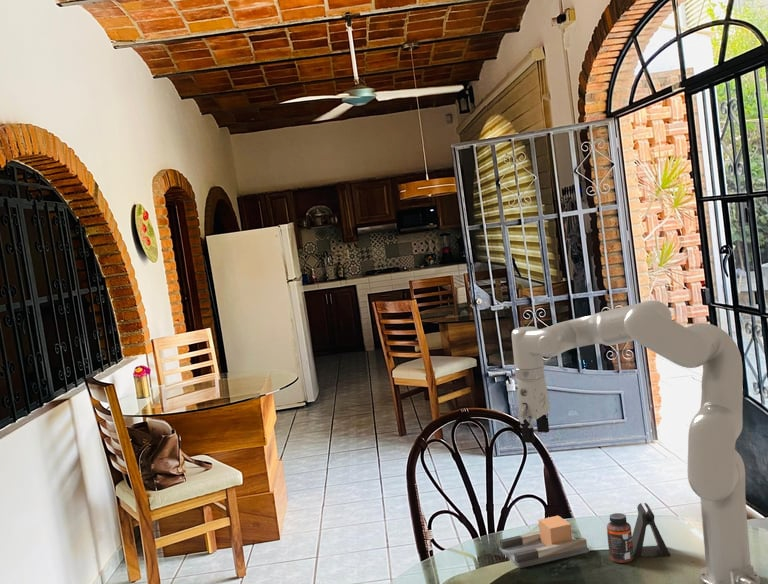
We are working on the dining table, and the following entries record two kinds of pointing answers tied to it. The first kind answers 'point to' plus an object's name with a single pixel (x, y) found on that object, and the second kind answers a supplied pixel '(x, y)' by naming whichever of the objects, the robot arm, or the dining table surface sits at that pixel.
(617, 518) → the supplement bottle
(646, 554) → the dark a-frame stand
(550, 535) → the block
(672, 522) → the dining table surface
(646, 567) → the dining table surface
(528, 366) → the robot arm
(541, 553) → the chute
